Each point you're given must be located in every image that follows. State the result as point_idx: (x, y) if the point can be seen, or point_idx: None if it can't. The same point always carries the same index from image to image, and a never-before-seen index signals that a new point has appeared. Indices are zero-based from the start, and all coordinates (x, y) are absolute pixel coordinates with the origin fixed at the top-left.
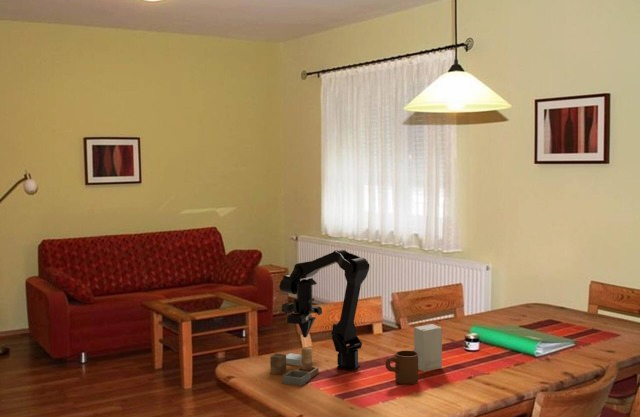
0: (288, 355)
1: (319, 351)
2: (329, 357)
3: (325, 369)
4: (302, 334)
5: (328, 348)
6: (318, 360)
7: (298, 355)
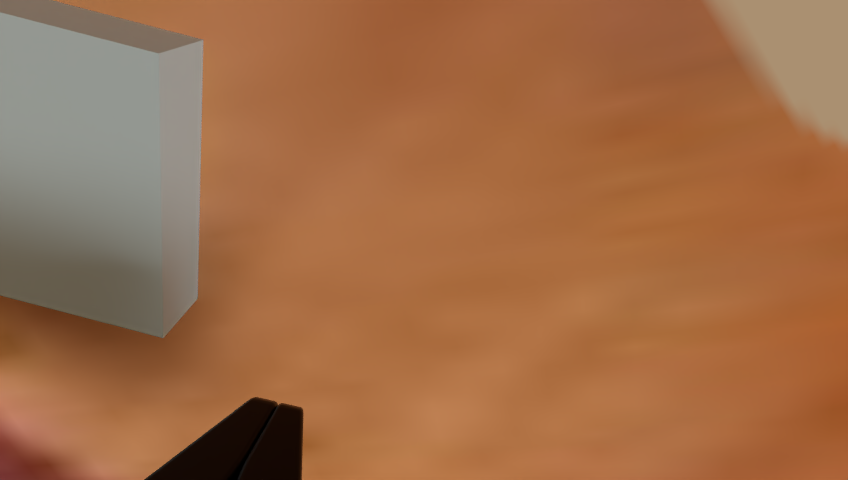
0: (47, 67)
1: (618, 348)
2: (398, 455)
3: (53, 451)
4: (198, 439)
5: (763, 423)
6: (266, 378)
7: (122, 214)
